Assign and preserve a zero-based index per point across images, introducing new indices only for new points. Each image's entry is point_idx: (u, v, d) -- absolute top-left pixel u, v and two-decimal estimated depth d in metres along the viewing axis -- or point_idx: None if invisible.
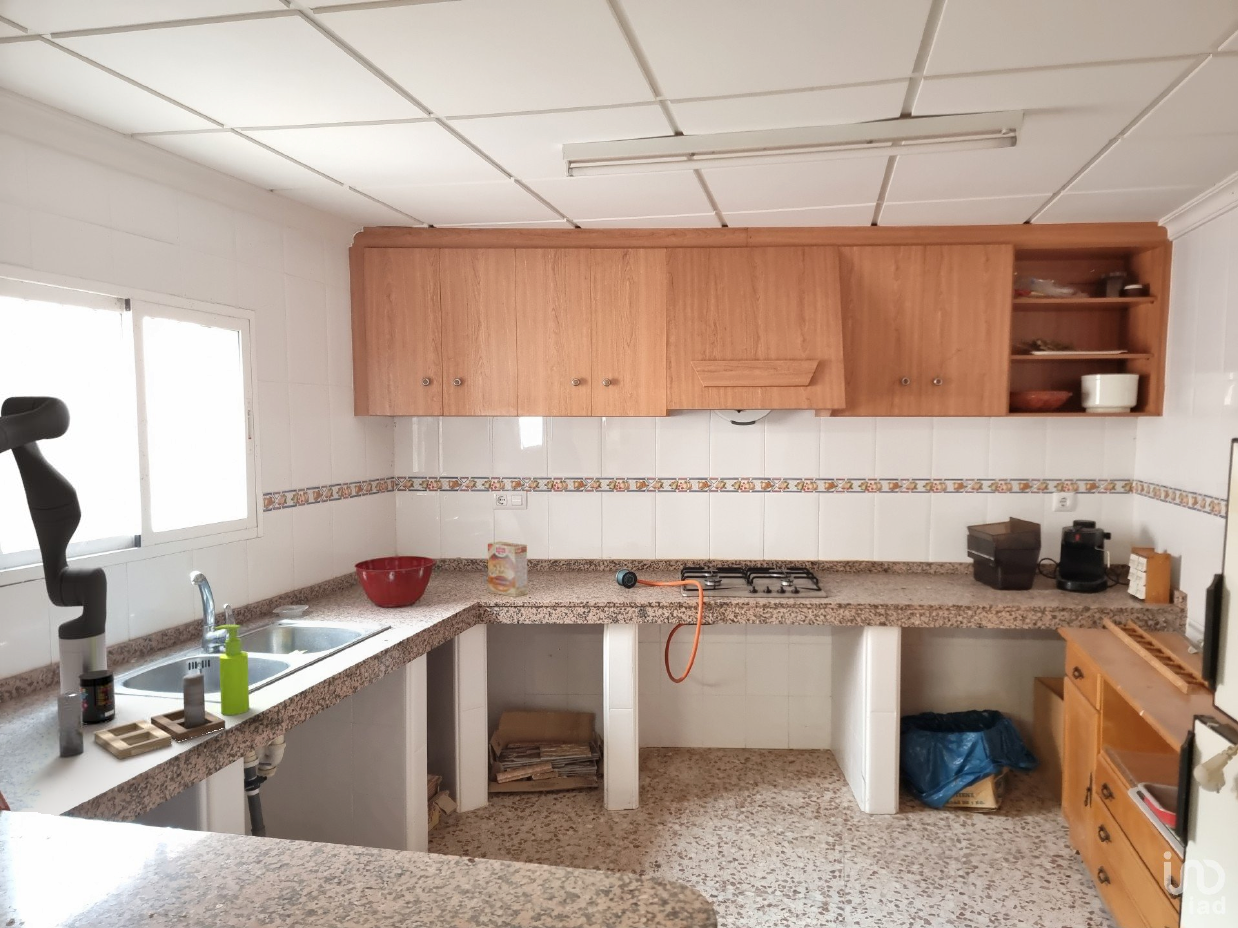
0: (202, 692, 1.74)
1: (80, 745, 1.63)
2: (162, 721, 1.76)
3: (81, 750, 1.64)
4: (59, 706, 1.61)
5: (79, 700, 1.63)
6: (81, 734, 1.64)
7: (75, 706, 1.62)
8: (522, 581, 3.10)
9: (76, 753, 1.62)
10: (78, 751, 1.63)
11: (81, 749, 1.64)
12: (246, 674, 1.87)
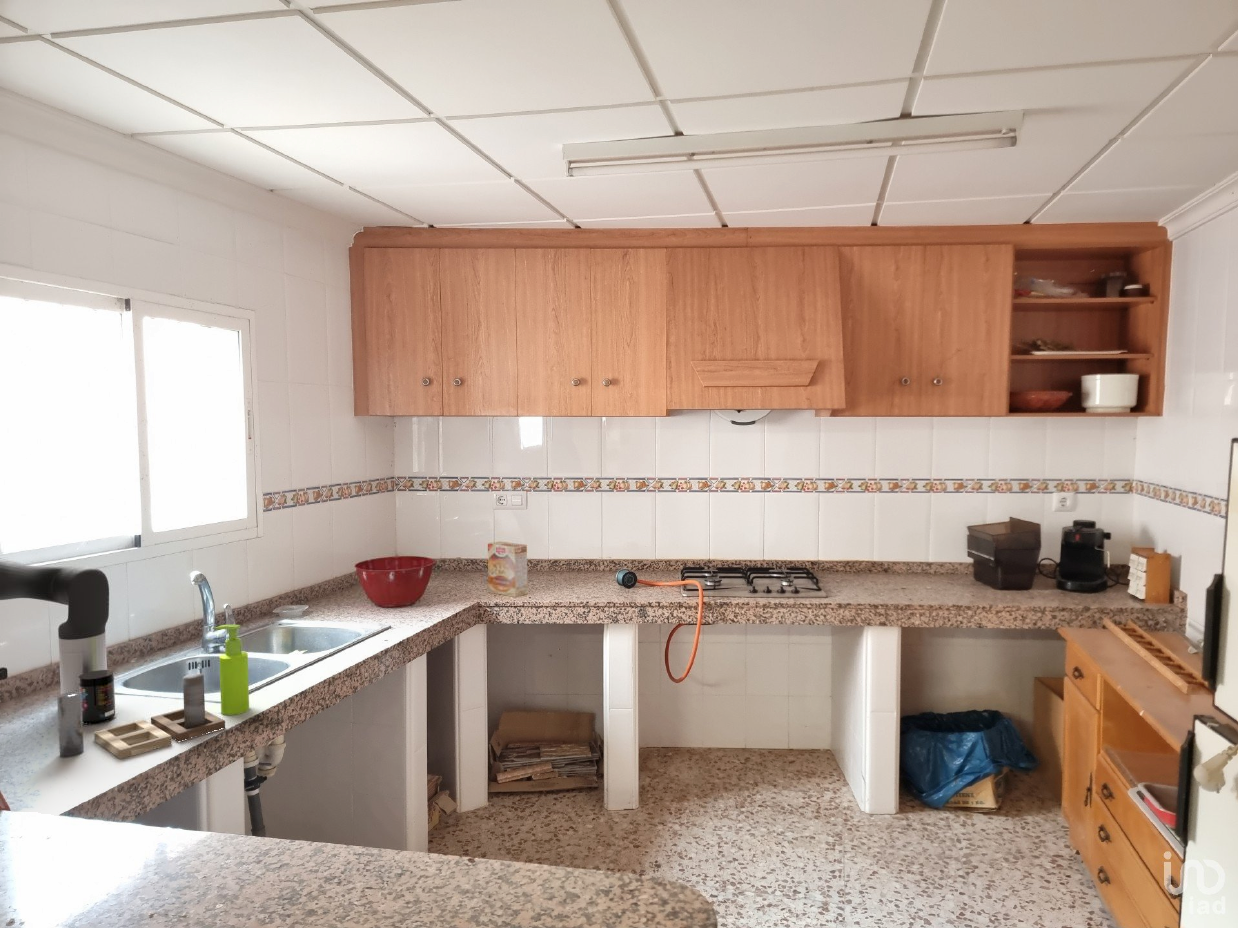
0: (202, 692, 1.74)
1: (80, 745, 1.63)
2: (162, 721, 1.76)
3: (81, 750, 1.64)
4: (59, 706, 1.61)
5: (79, 700, 1.63)
6: (81, 734, 1.64)
7: (75, 706, 1.62)
8: (522, 581, 3.10)
9: (76, 753, 1.62)
10: (78, 751, 1.63)
11: (81, 749, 1.64)
12: (246, 674, 1.87)
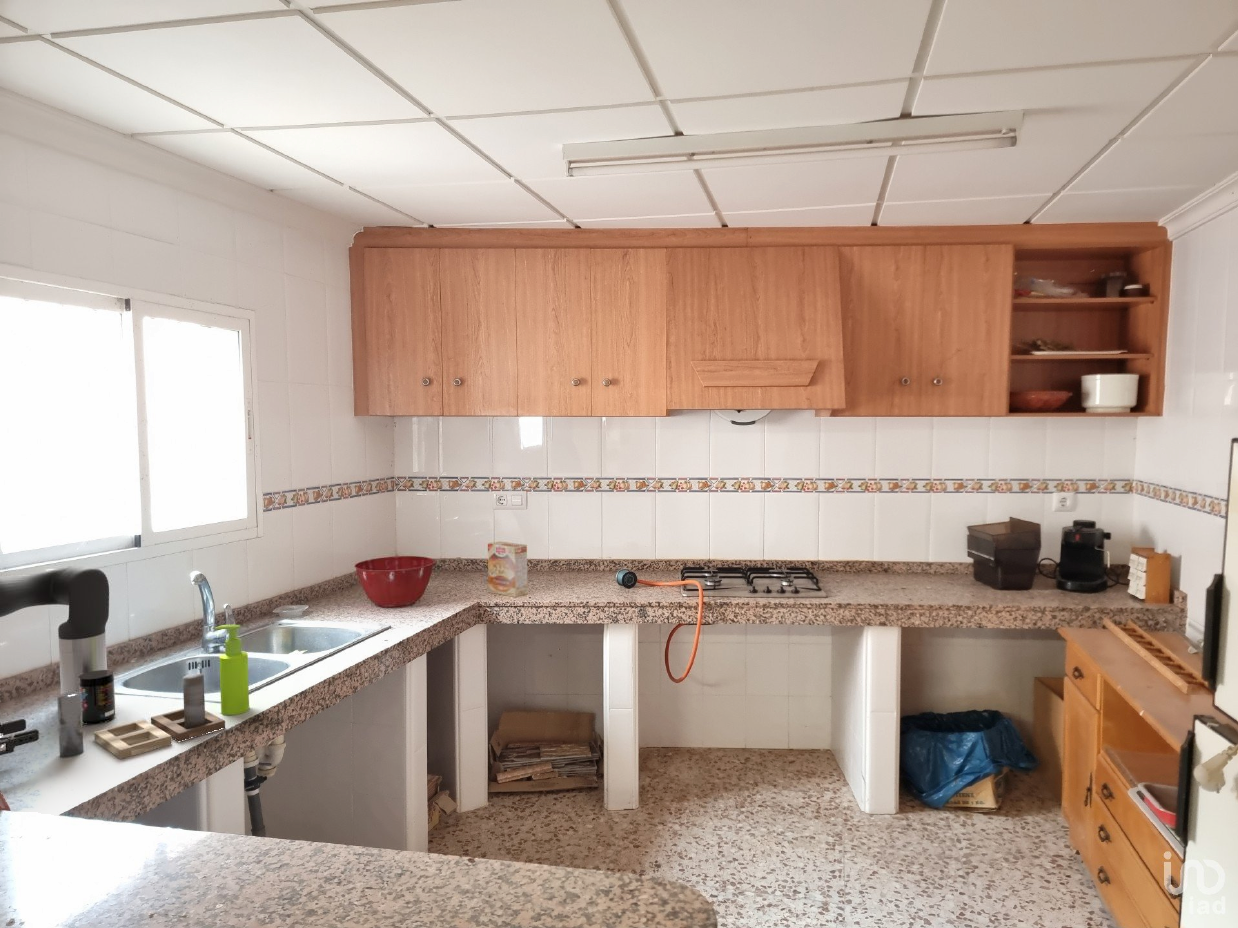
0: (202, 692, 1.74)
1: (80, 745, 1.63)
2: (162, 721, 1.76)
3: (81, 750, 1.64)
4: (59, 706, 1.61)
5: (79, 700, 1.63)
6: (81, 734, 1.64)
7: (75, 706, 1.62)
8: (522, 581, 3.10)
9: (76, 753, 1.62)
10: (78, 751, 1.63)
11: (81, 749, 1.64)
12: (246, 674, 1.87)
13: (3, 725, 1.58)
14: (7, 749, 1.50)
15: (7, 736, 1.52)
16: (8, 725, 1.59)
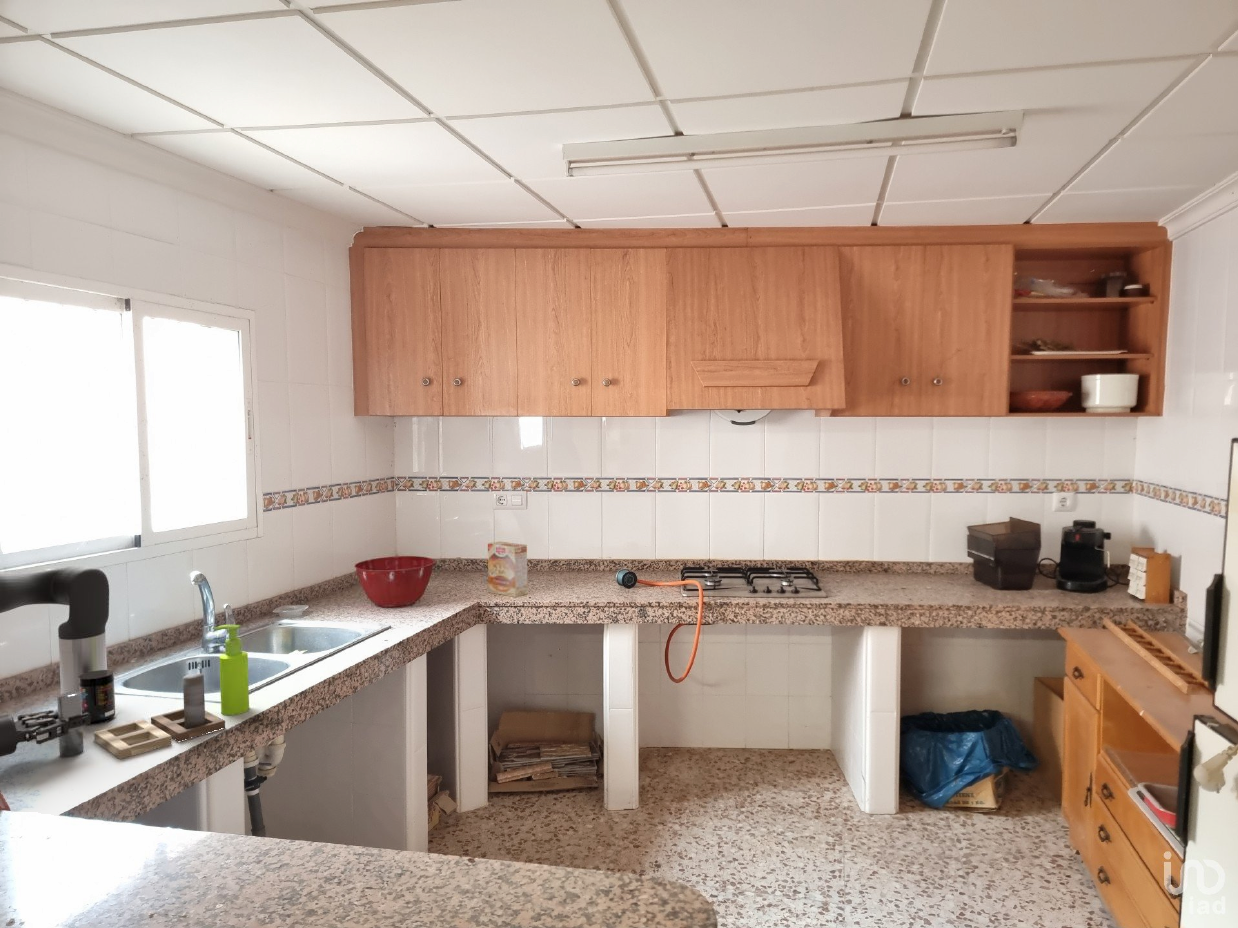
0: (202, 692, 1.74)
1: (80, 745, 1.63)
2: (162, 721, 1.76)
3: (81, 750, 1.64)
4: (59, 706, 1.61)
5: (79, 700, 1.63)
6: (81, 734, 1.64)
7: (75, 706, 1.62)
8: (522, 581, 3.10)
9: (76, 753, 1.62)
10: (78, 751, 1.63)
11: (81, 749, 1.64)
12: (246, 674, 1.87)
13: None
14: (62, 731, 1.58)
15: (62, 719, 1.60)
16: None
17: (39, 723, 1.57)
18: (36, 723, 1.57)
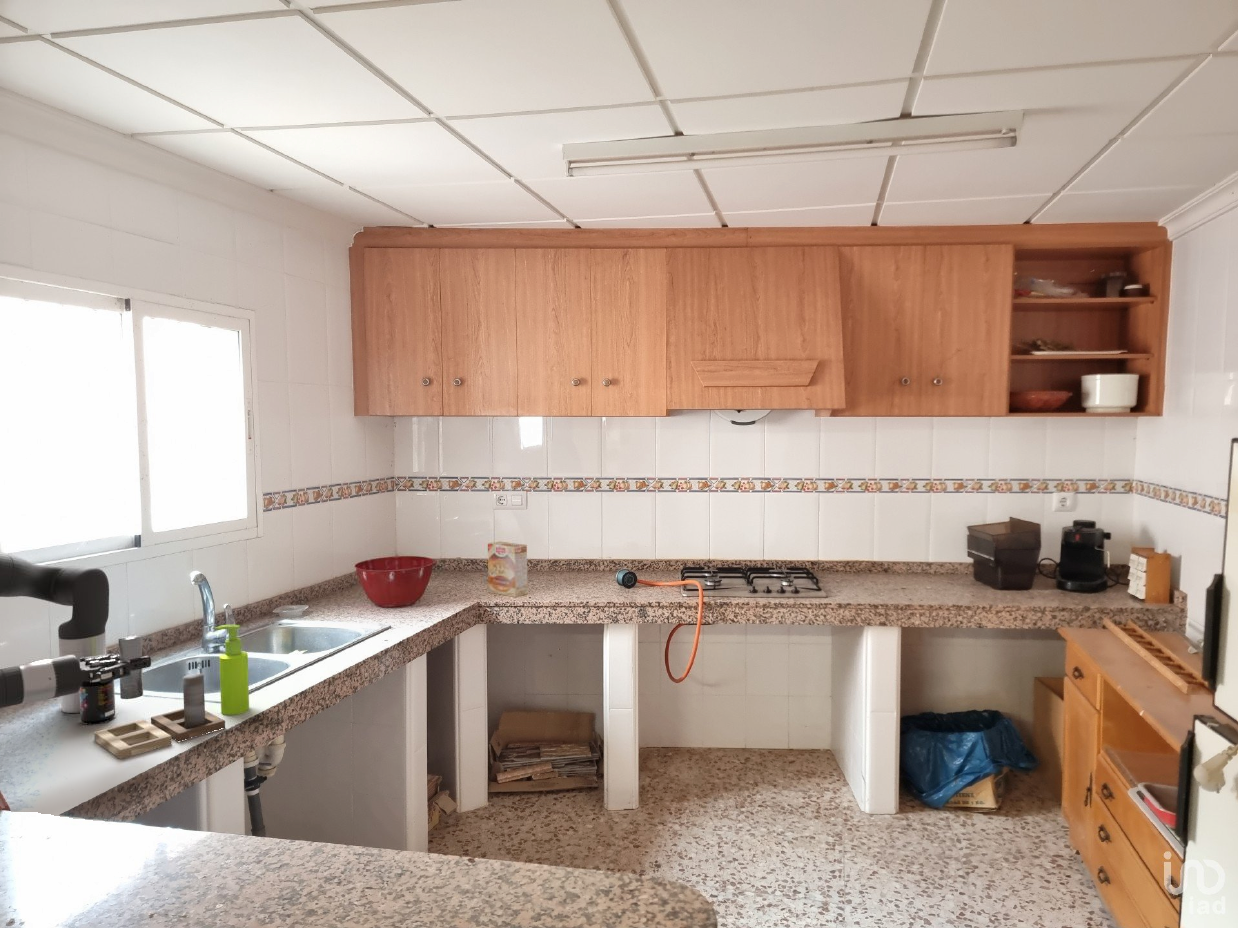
0: (202, 692, 1.74)
1: (140, 688, 1.65)
2: (162, 721, 1.76)
3: (141, 693, 1.65)
4: (120, 648, 1.63)
5: (140, 643, 1.65)
6: (141, 677, 1.66)
7: (136, 649, 1.64)
8: (522, 581, 3.10)
9: (136, 695, 1.64)
10: (138, 693, 1.65)
11: (141, 692, 1.65)
12: (246, 674, 1.87)
13: None
14: (125, 672, 1.60)
15: (124, 661, 1.62)
16: None
17: (102, 664, 1.59)
18: (99, 663, 1.59)
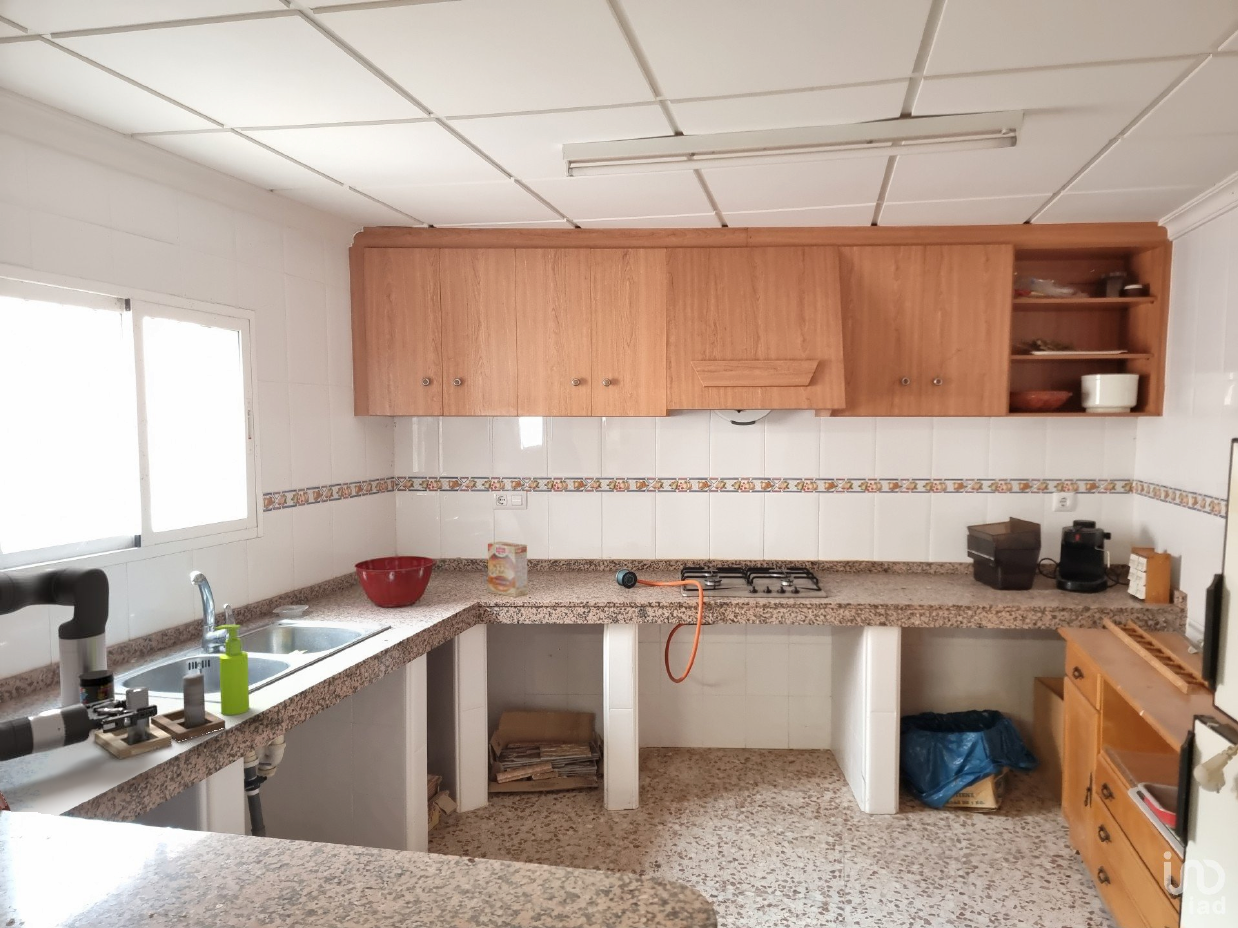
0: (202, 692, 1.74)
1: (147, 739, 1.66)
2: (162, 721, 1.76)
3: None
4: (128, 700, 1.64)
5: (146, 695, 1.66)
6: (149, 728, 1.67)
7: (143, 701, 1.65)
8: (522, 581, 3.10)
9: None
10: None
11: None
12: (246, 674, 1.87)
13: (123, 701, 1.67)
14: (131, 722, 1.59)
15: (130, 710, 1.61)
16: None
17: (109, 712, 1.60)
18: (106, 712, 1.59)
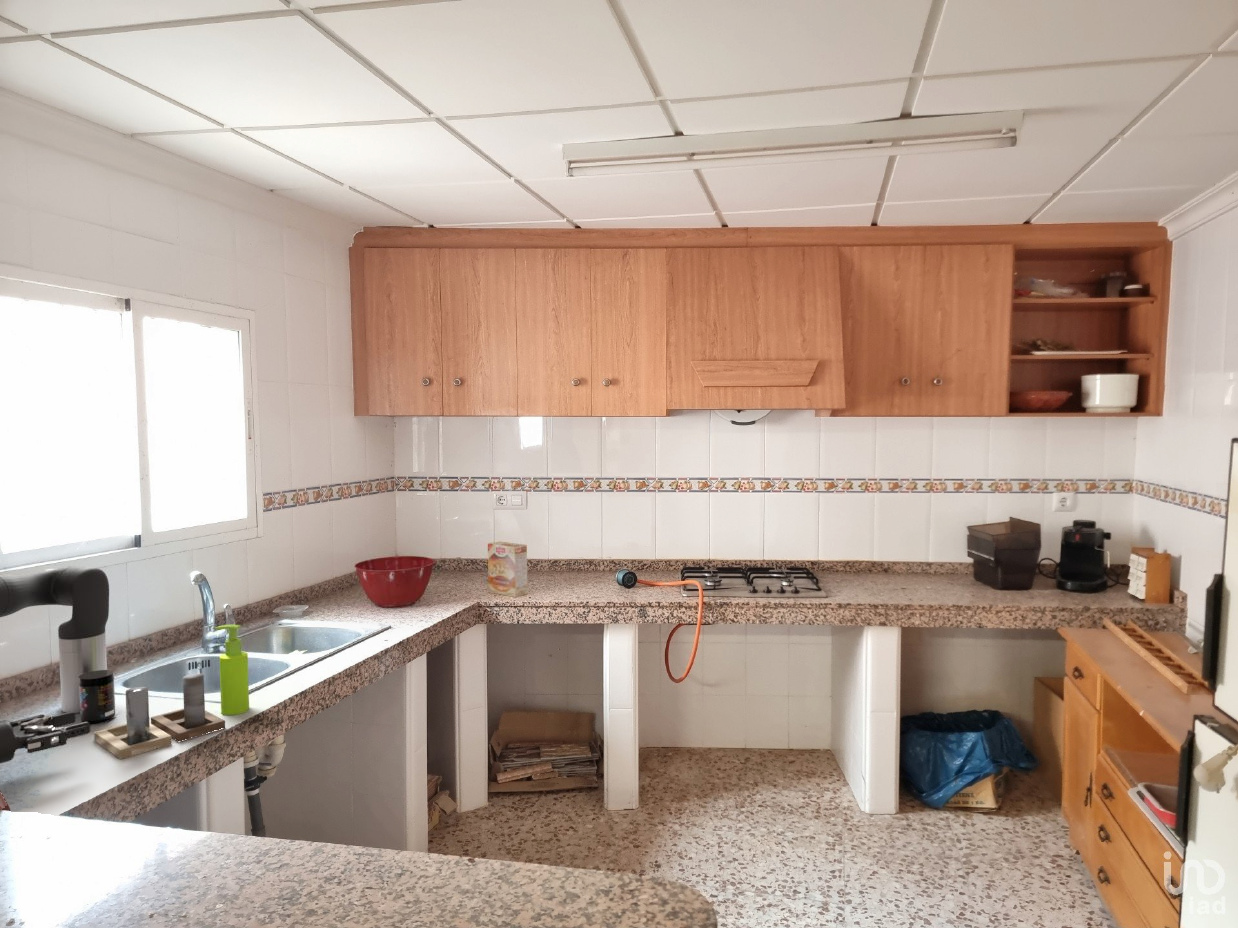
0: (202, 692, 1.74)
1: (147, 739, 1.66)
2: (162, 721, 1.76)
3: None
4: (128, 701, 1.64)
5: (146, 695, 1.66)
6: (148, 728, 1.67)
7: (143, 701, 1.65)
8: (522, 581, 3.10)
9: None
10: None
11: None
12: (246, 674, 1.87)
13: (53, 718, 1.58)
14: (60, 741, 1.50)
15: (59, 728, 1.52)
16: (58, 718, 1.59)
17: (36, 730, 1.50)
18: (33, 730, 1.50)
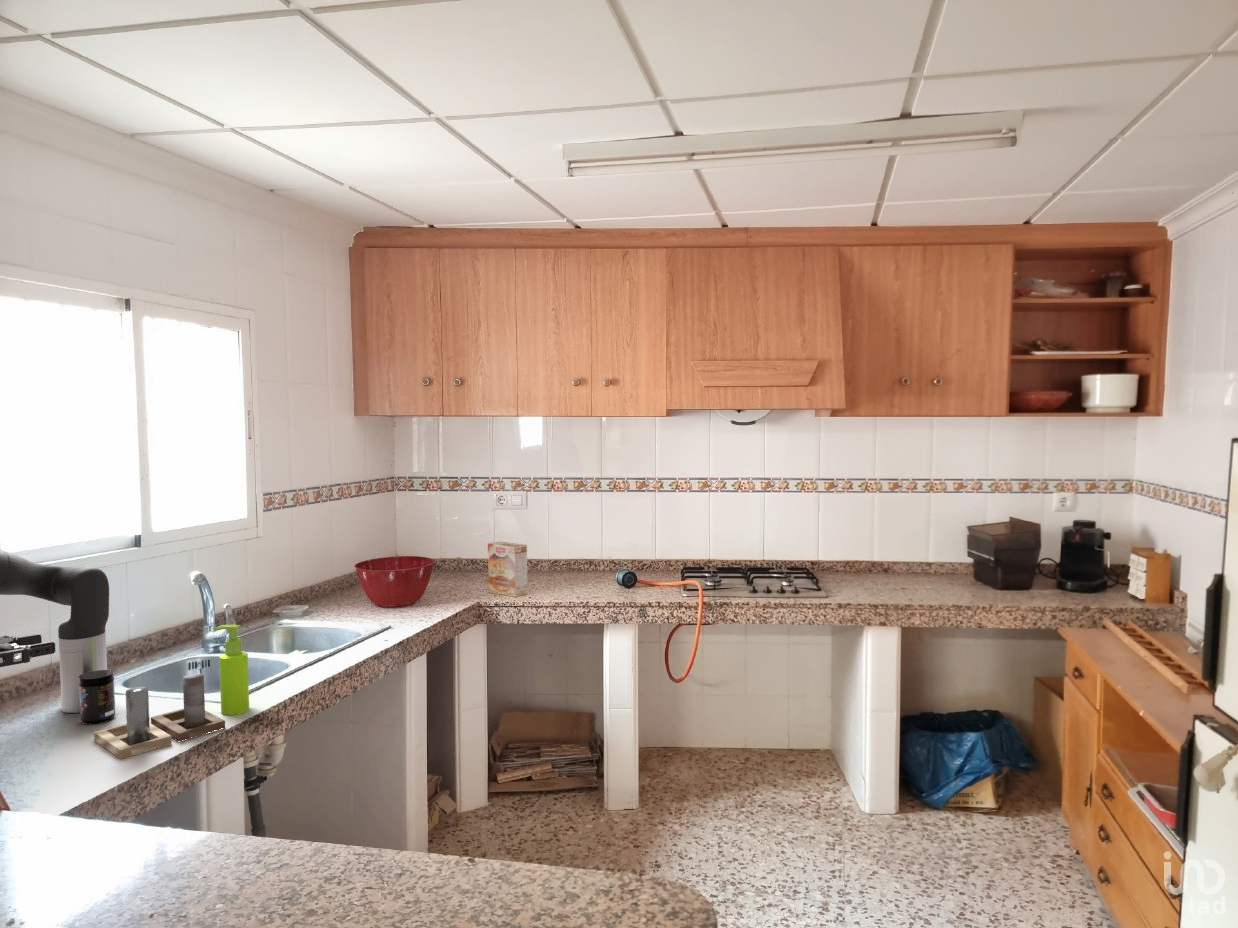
0: (202, 692, 1.74)
1: (147, 739, 1.66)
2: (162, 721, 1.76)
3: None
4: (128, 700, 1.64)
5: (146, 695, 1.66)
6: (149, 728, 1.67)
7: (143, 701, 1.65)
8: (522, 581, 3.10)
9: None
10: None
11: None
12: (246, 674, 1.87)
13: (18, 639, 1.53)
14: (23, 658, 1.45)
15: (23, 646, 1.47)
16: (23, 639, 1.54)
17: None
18: None
